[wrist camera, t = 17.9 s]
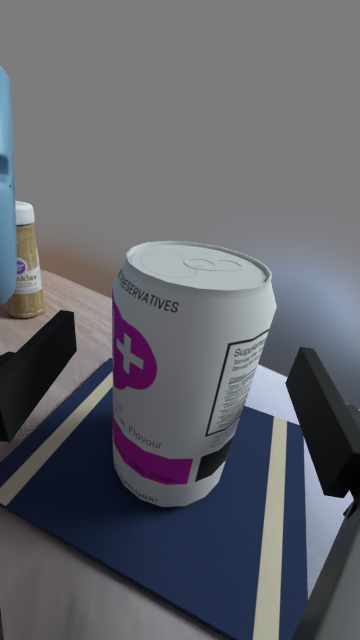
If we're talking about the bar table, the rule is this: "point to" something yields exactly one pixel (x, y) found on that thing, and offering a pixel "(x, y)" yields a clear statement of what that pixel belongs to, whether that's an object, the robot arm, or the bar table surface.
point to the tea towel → (175, 515)
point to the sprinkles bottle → (26, 268)
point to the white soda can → (183, 363)
